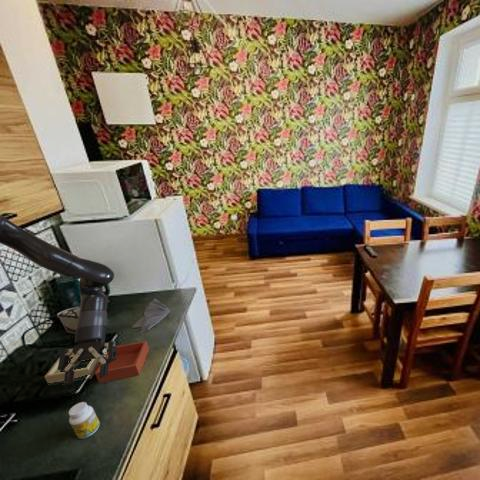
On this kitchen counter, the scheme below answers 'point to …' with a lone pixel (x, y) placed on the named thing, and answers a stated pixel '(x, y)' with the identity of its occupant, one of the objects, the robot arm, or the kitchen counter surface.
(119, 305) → the kitchen counter surface
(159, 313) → the cloth
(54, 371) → the cream bin
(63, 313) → the food container
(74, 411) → the supplement bottle
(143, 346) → the terracotta bin
